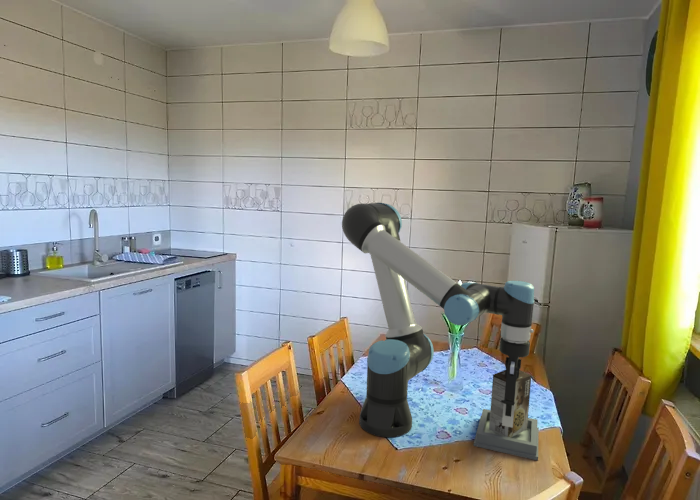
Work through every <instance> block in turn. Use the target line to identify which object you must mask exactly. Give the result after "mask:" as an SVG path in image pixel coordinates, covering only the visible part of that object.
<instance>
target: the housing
mask: <svg viewBox="0 0 700 500" xmlns="http://www.w3.org/2000/svg"><path fill="white" fill-rule="evenodd" d="M490 410H491V409H487V408H482V411H481V415H480V418H479V422H478V425H477V429H476V432H475V435H474V441H473V447H477V448H481V449H485V450H490V451H493V452H499V453H504V454H507V455H513V456H516V457H521V458H523V459H529V460H534V461H539V436H540V435H539V433H540V432H539V427H538V419H537V418H536V419H535V418H531V417H528V423H527V430H525V431H523V432H521V433H519V434H517V435H515V436H513V437H511V438H510V437H505V436H501V435H499V434H497V433H495V432H493V431H491V430H489V423H490Z"/></svg>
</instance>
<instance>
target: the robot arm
mask: <svg viewBox="0 0 700 500" xmlns="http://www.w3.org/2000/svg"><path fill="white" fill-rule="evenodd" d="M402 226H403V222H402V216H401V214H400V212H399V211H398V210H397V209H396V208H395V207H394V206H392V205H391V204H389V203H385V202H384V203H383V202H371V203H356V204H354V205H352V206H350V207H349V208H348V209H347V210H346V211H345V212H344V214H343V216H342V221H341V228H342V232H343V234H344V236H345V237H346V239H347V240H348V241H349V242H350V243H351V244H352V245H353V246H354V247H355V248H357V249H358V250H360V251H361V253H363V254H369V255H370V259H371V263H372V267H373V271H374V274H375V279H376V282H377V286H378V290H379V296H380V299H381V300H380V301H381V304H382V307H383V311H384V315H385V319H386V324H387V327H388V330H387V331H386V333H385V336H384V337H385V339H384V340H383V339H382V340H378V341H376V342H374V343H373V344H372V345H371V346H370V347H369V349H368V352H367V359H366V362H367V363H366V364H367V368H366V369H367V370H366V371H367V372H366V396H365V400H364V402H363V404H362V407H361V410H360V412H359V426H360V428H361V429H362V430H364V431H365V432H366V433H369V434H371V435H373V436H376V437H382V438H383V437H384V438H396V437H400V436H404V435H406V434H408V433H409V432H410V431H411V429H412V427H413V416H412V412H411V409H410V406H409V402H408V390H409V389H408V387H409V385H408V384H409V381H410V380H412V379H413V378H415V377H416V376H417V375H419V374H420V373H421V372H424V370H426V369H427V368H428V367H429V365H430V364H431V362H432V361H433V358H434V353H435V351H434V350H435V349H434V345H433V342H432V341H431V339H430V338H429V336H427V335H426V334H425V333H424V331H423V327H422V326H421V325H419V324H418V323H417V321H416V319H415V314H414V310H413V306H412V302H411V299H410V294H409V291H408V288H407V282H408V283H409V284H410V285H412V286H413V287H414V288H415V289H417V290H418V291H419V292H421V293H422V294H423V295H425V296H426V297H427V298H428V299H430V300H431V301H433V302H434V303H435V304H437V305H438V306H439V307H440V308H441V309H443V312H444V315H445V317H446V319H447V320H448V322H450V323H452V325H453V324H454V325H455V326H464V325H467V324H470V323H472V322H474V321H475V320H476V319H477V318H478V317H480V316H481V315H483V314H493V315H498V316H499V315H500V316H501V317H502V318H501V323H500V324H501V327H500V336H501V338H500V339H499V341H500V342H499V343H500V344H499V351H500V352H501V354H503V355H505V356H506V358H505V363H504V367H505V369H504V370H505V376H506V387H505V397H504V400H501V403H504V405H503V417H502V426H507V427H512V428H513V418H514V406H515V401H514V399H515V389H516V379H518V378H519V370H521V367H522V359H521V358H525V357H528V356H529V355H530V348H531V342H530V341H531V334H533V333H534V331H535V330H534V329H533V328H532V321H533V313H534V304H535V286H534V285H533V284H532V283H530V282H527V281H523V280H508V281H505V283H504V286H503V287H502V286H501V287H500V286H496V285H495V286H493V285H489V284H482V283H477V282H463V283H462V284H461V285H460V284H459V283H457V282H456V281H455V280H454V279H453V278H451V277H450V276H448V275H447V274H446V273H444V272H443V271H441V270H440V269H439V268H437V267H436V266H434V265H433V264H432V263H430V262H429V261H428V260H426V259H425V258H423V257H422V256H421V255H420V254H418V253H417V252H415V251H414V250H413V249H411V248H410V247H408V246H407V245H406V244H404V243H403V242H402V241H401V238H400V231H401V229H402Z"/></svg>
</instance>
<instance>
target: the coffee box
mask: <svg viewBox="0 0 700 500" xmlns="http://www.w3.org/2000/svg"><path fill="white" fill-rule="evenodd" d="M505 370H506V369H504V370H501V371H499V372H496V373H494V374H492V387H491V397H490V409H489V410H490V423H489V430H491V431H493V432H495V433H497V434H499V435H501V436H505V437H510V438H511V437H513V436H515V435H517V434H519V433H521V432H523V431H525V430H527V423H528V418H529V408H530V398H531V397H530V396H531V386H532V385H531V384H532V383H531V382H532V374H529V373H527V372H525V371H523V370H521V369H520V370H519V378H518V379H516V389H515V399H514V401H515V406H514V418H513V428H512V427H507V426H502V417H503V405H504V403H501V400H504V397H505V387H506V376H505Z"/></svg>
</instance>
